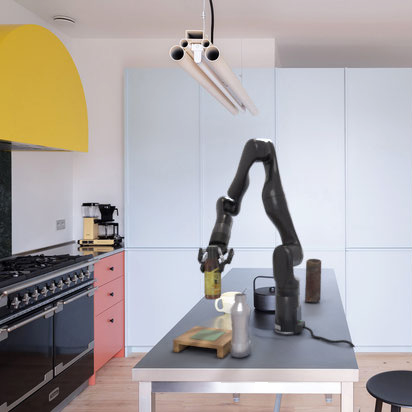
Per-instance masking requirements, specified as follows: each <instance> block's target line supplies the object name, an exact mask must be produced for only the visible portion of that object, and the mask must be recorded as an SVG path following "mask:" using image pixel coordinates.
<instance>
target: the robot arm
mask: <svg viewBox="0 0 412 412" xmlns="http://www.w3.org/2000/svg"><path fill="white" fill-rule="evenodd" d="M277 155H278V154H277V150H276V147H275V144H274V143H273V141H272V140H271V139H268V138H250V139H248V140H247V141H246V142H245V144H244V147H243V149H242V152H241V156H240V159H239V162H238V166H237V168H236V172H235V175H234V177H233V179H232V181H231V183H230V185H229V187H228V189H227V192H226V194H227V195H221V196H220V197H218V198H217V200H216V202H215V212H216V218H215V222H214V226H213V228H212V231H211V235H210V238H209V241H208V245H207V246H218V259H219V260H220V261H219V262H220V266H219V273H221V274H223V273H224V271H225V267H226V265H231V263H232V261H233V259H234V256H235V250H234V248H233V247H230V248H228V247H229V244H230V240H231V236H232V229H233V225H234V218H235V217H237V216H238V215H239V214H241V213H240V212H241V209H242V203H243V199H244V197H245V195H246V194H247V191H248V190H249V187H250V183H251V178H250V170H251V168H252V166H253V165H254V164H255V163H257V164H258V163H262V166H263V169H264V175H265V177H264V181H263V185H262V190H261V201H262V206H263V209H264V212H265V215H266V217H267V218H268V220H269V221H270V222H271V223H272V225H273V226H274V228H275V229H276V230H277V232H278V235H279V237H280V240H281V241H280V242H281V244H279V245H276V246H275V247H274V249H273V251H272V257H271V259H272V260H271V261H272V277H273V280H274V286H275V287H274V289H275V290H274V291H275V293H274V311H275V312H274V332H275V333H276V334H278V335H282V336H292V335H298V334H299V333H302V332H303V331H304V330H307V331H309V333H310V336H311V337H312V338H313V339H315V340H316V339H317V340H322V341H324V342H327V343H331V344H341V343H343V344H348V345H349V346H351V347H352V348H356V346H355V344H353V343H352V342H351V341H350V340H346V339H338V340H333V339H329V338H325V337H323V336H318V335H314V332H313V330H312V329H311V328H310V327H309V326H306V321H305V320H302V305H301V293H300V292H301V280H300V278H299V277H298V276H295V274H294V273H295V269H294V268H295V267H298V266H300V265H301V264H303V261H304V257H305V256H304V250H303V246H302V243H301V241H300V239H299V236H298V233H297V230H296V227H295V224H294V221H293V217H292V213H291V211H290V207H289V203H288V199H287V195H286V192H285V189H284V184H283V181H282V177H281V173H280V167H279V162H278V156H277ZM227 196H228V197H227ZM197 254H198V255H197V258H196V259H197V262H198V263H199V265H200V267H199V271H200V272H201V274H204V271H205V262H206V260H207V259H208V257H207V256H208V250H207V247H206V248H203V247H199V248H198V253H197ZM225 255H227V257H226V259H225ZM358 412H361V409H359V410H358Z"/></svg>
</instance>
